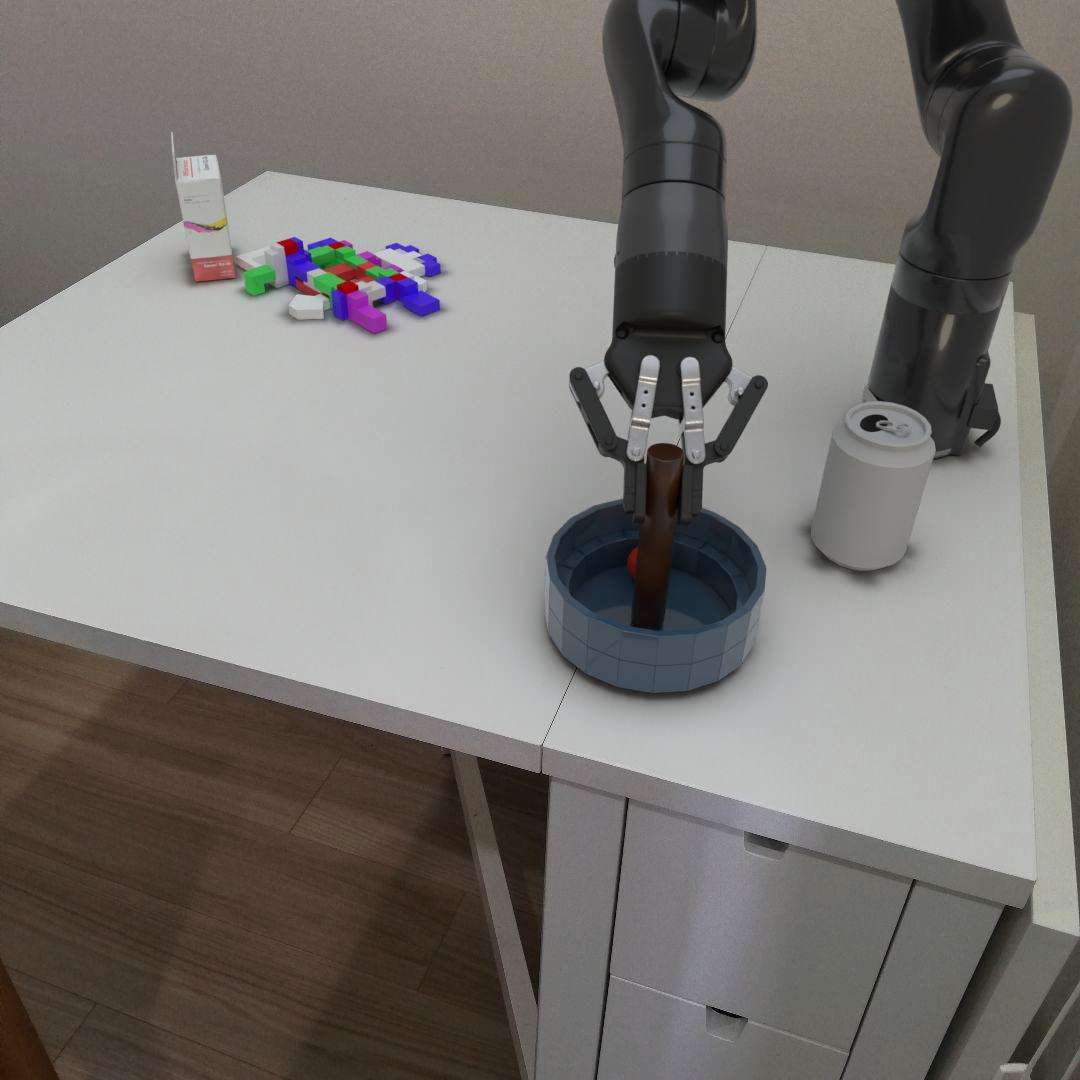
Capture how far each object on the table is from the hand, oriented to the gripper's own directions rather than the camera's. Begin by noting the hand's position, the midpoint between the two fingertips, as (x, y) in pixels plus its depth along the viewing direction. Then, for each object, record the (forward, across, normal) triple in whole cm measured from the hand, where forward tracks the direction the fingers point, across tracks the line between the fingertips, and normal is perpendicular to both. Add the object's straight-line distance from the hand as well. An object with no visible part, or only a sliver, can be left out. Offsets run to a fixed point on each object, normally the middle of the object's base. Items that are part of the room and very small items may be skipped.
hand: (661, 521), depth 69 cm
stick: (+6, 0, +8) cm, 10 cm away
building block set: (-33, -32, +50) cm, 68 cm away
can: (-1, +17, +16) cm, 24 cm away
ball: (+2, 0, +10) cm, 11 cm away
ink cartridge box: (-35, -49, +52) cm, 80 cm away
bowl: (+6, 0, +9) cm, 11 cm away
